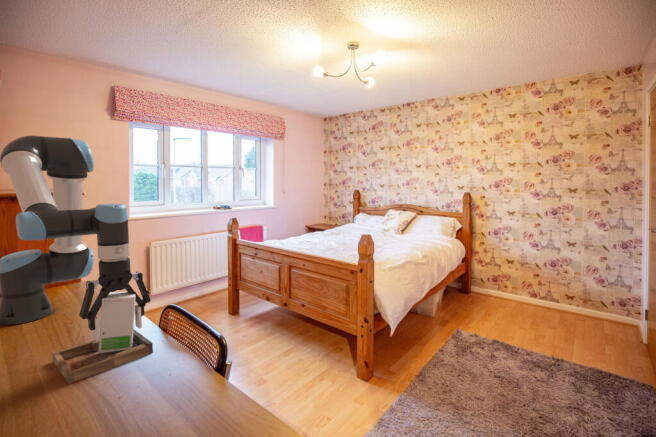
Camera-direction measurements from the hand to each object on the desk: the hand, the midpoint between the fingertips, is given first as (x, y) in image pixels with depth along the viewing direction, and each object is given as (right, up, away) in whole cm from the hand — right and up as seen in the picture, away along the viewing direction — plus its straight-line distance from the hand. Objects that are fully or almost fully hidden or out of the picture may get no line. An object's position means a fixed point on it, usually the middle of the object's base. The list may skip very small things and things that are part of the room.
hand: (118, 333), depth 97 cm
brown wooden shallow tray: (-3, -6, -2) cm, 7 cm away
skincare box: (-1, -4, 0) cm, 4 cm away
